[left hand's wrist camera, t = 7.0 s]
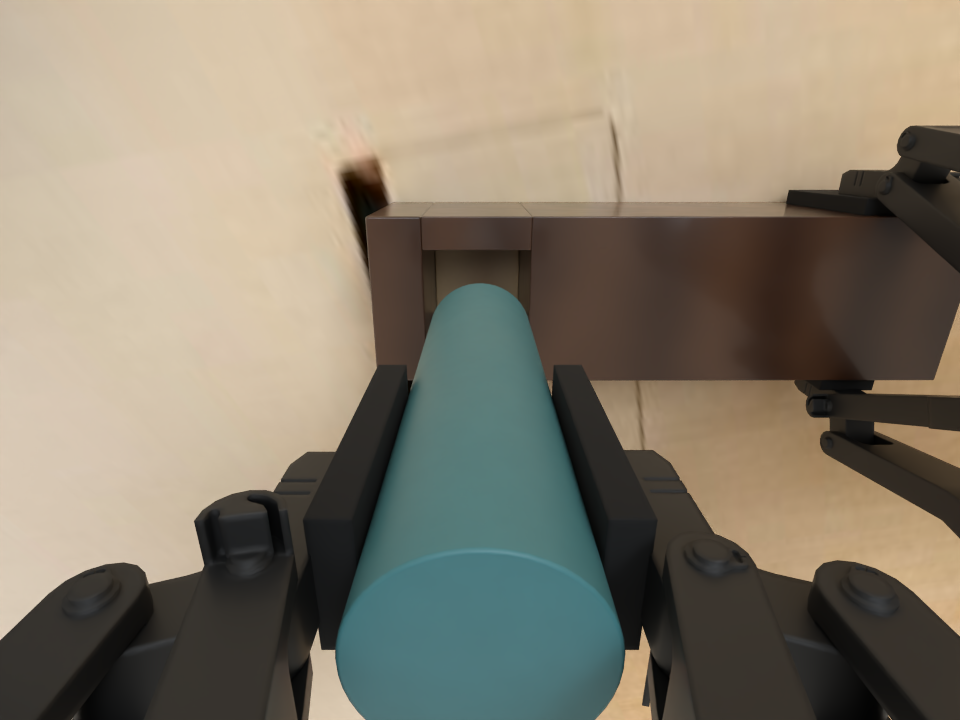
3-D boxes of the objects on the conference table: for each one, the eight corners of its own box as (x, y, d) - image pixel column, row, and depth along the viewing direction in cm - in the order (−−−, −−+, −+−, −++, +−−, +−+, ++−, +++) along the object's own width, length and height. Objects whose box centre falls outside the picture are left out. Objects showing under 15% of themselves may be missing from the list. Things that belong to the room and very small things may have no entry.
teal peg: (415, 354, 22) (295, 715, 8) (455, 266, 20) (399, 505, 6) (503, 391, 22) (542, 791, 8) (547, 308, 21) (683, 613, 7)
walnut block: (399, 331, 34) (377, 380, 26) (392, 202, 31) (364, 216, 24) (833, 331, 34) (934, 380, 26) (866, 202, 31) (989, 216, 24)
